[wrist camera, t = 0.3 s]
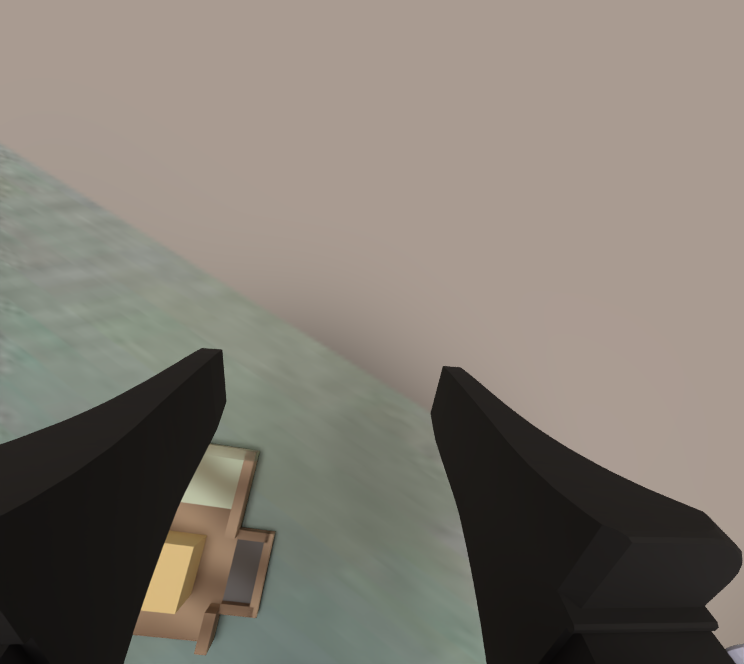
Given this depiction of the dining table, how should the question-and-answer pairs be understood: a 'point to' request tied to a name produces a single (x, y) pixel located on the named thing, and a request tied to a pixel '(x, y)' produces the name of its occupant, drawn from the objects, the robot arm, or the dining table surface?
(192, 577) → the block
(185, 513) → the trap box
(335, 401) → the dining table surface
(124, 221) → the dining table surface
